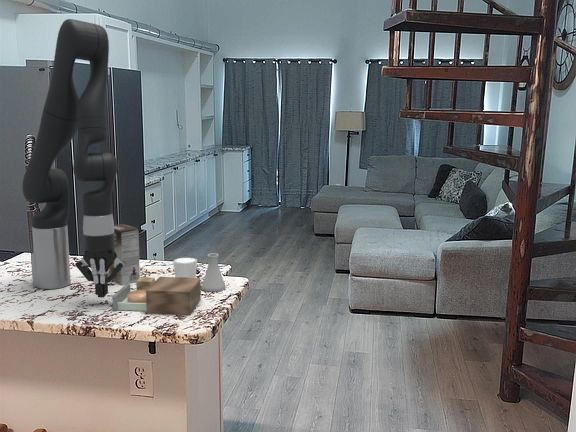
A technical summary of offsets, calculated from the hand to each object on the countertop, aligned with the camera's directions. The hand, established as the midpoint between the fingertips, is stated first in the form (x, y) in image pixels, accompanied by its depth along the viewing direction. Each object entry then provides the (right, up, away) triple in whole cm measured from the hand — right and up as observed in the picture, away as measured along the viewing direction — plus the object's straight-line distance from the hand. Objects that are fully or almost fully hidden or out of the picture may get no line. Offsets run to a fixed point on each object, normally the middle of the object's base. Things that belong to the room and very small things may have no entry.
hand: (101, 296), depth 150 cm
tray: (+10, -2, 0) cm, 10 cm away
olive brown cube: (+9, 0, +11) cm, 14 cm away
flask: (+27, 0, +14) cm, 31 cm away
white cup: (+18, +1, +19) cm, 26 cm away
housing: (+19, -2, -1) cm, 19 cm away
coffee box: (0, +2, +21) cm, 21 cm away
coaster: (+10, -1, -1) cm, 10 cm away
